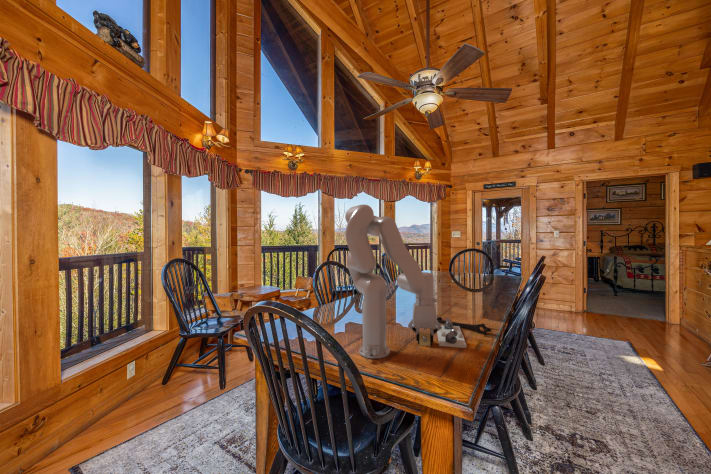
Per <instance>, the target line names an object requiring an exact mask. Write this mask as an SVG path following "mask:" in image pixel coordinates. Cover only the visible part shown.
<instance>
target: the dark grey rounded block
mask: <svg viewBox="0 0 711 474" xmlns="http://www.w3.org/2000/svg"><path fill="white" fill-rule="evenodd" d="M457 335H458V332H457V331H456V330H455V329H452V330H451V331H450V332H449V333H448V334H446V337H445V342H449V343H452V344H455V343H456V342H457V338H456V336H457Z"/></svg>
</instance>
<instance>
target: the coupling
mask: <svg viewBox="0 0 711 474" xmlns="http://www.w3.org/2000/svg"><path fill="white" fill-rule="evenodd" d="M430 332H431V331H430V329H422V328H420V329H419V344H418V345H419V346H421V347H431V344H430Z"/></svg>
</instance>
